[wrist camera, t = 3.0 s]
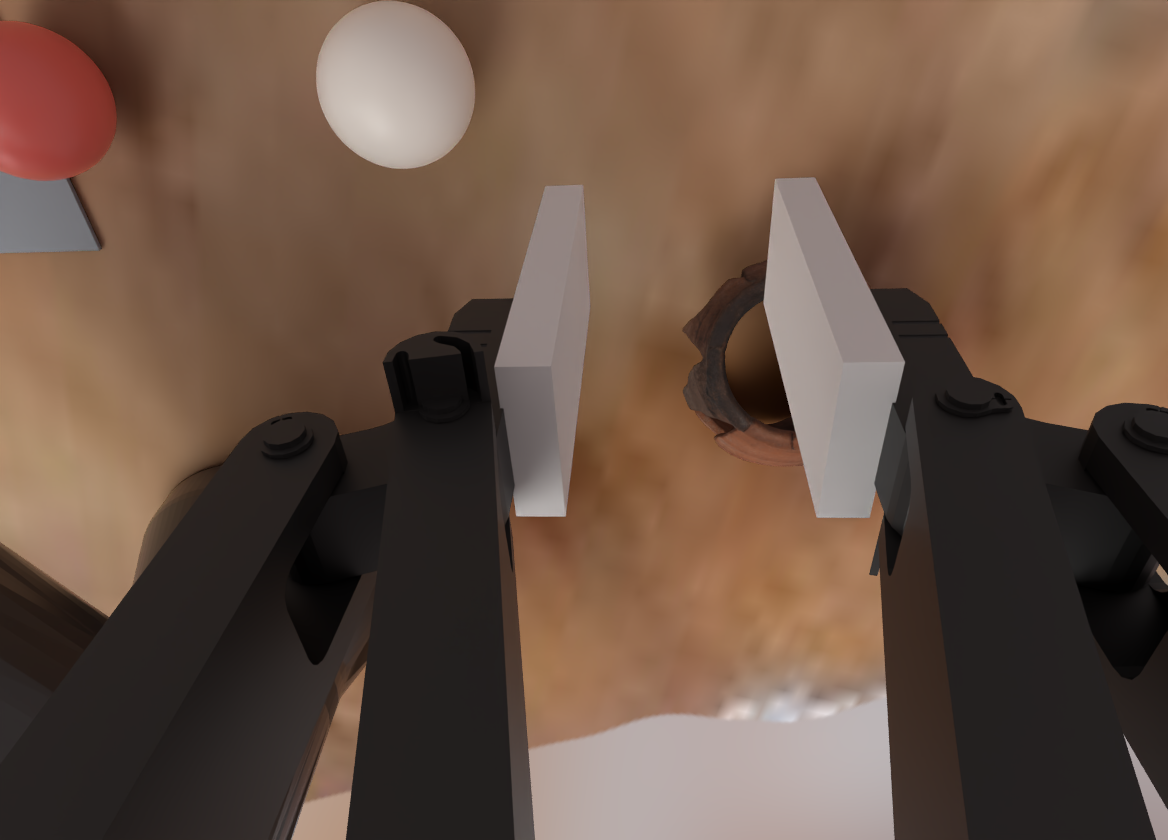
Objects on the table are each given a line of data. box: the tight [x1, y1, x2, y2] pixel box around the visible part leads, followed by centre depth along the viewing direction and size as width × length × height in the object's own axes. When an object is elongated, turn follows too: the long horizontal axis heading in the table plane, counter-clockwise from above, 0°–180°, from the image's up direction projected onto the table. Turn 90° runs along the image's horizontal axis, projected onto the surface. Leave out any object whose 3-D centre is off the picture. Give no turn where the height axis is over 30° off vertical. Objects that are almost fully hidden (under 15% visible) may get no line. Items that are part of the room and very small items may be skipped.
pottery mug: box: [683, 260, 870, 466], centre depth 34 cm, size 12×10×8 cm
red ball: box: [0, 21, 117, 181], centre depth 29 cm, size 6×6×6 cm
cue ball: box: [316, 1, 475, 169], centre depth 28 cm, size 6×6×6 cm
